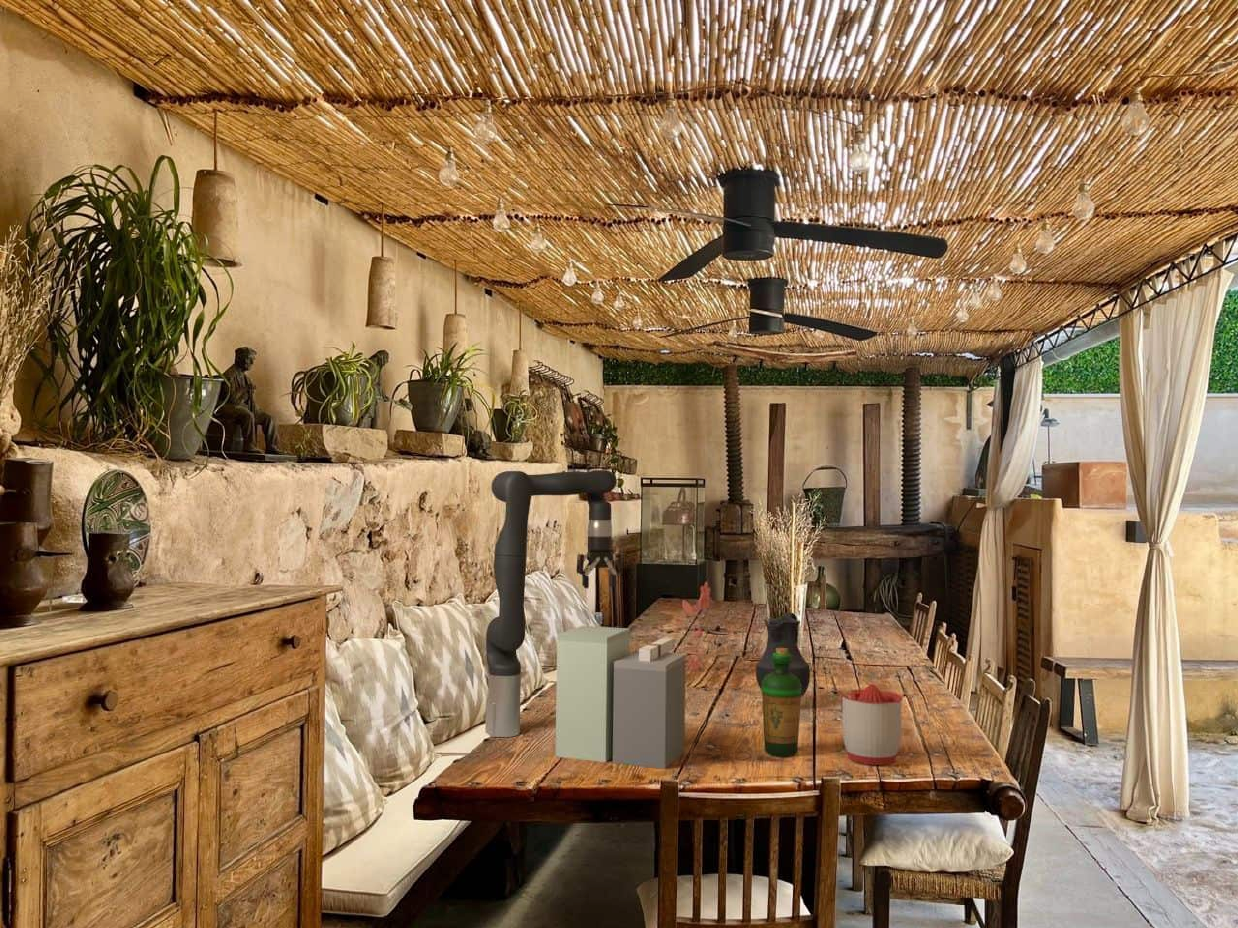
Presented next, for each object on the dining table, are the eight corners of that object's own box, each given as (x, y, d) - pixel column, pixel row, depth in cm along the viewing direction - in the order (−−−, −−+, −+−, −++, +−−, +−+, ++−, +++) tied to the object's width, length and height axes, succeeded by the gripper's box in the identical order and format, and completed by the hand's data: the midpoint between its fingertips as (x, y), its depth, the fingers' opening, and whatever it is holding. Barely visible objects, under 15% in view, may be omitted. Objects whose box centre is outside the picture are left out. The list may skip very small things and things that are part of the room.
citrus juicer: (851, 747, 268) (851, 674, 269) (911, 759, 257) (912, 683, 258) (824, 759, 256) (825, 683, 257) (886, 772, 245) (887, 692, 246)
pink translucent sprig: (675, 676, 366) (678, 583, 367) (696, 665, 390) (699, 578, 390) (714, 681, 360) (717, 586, 361) (733, 669, 384) (736, 580, 385)
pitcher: (748, 709, 314) (749, 615, 314) (769, 697, 332) (770, 609, 333) (800, 715, 305) (801, 619, 306) (819, 703, 324) (820, 612, 325)
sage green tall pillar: (581, 740, 273) (582, 625, 273) (628, 745, 268) (629, 628, 269) (555, 756, 256) (557, 634, 256) (605, 762, 251) (607, 637, 252)
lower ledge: (635, 745, 267) (636, 650, 268) (684, 751, 262) (685, 654, 263) (612, 762, 250) (614, 661, 251) (664, 768, 246) (666, 665, 246)
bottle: (770, 759, 255) (771, 652, 256) (754, 749, 265) (755, 646, 266) (807, 757, 258) (808, 651, 259) (790, 746, 268) (791, 645, 269)
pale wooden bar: (664, 647, 274) (664, 636, 274) (674, 648, 273) (674, 637, 273) (638, 660, 253) (639, 648, 253) (650, 661, 252) (650, 649, 252)
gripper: (583, 535, 293) (582, 589, 292) (625, 535, 299) (625, 588, 298) (573, 534, 299) (572, 587, 299) (615, 534, 306) (614, 585, 305)
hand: (599, 587), depth 299 cm, fingers open, 8 cm apart
